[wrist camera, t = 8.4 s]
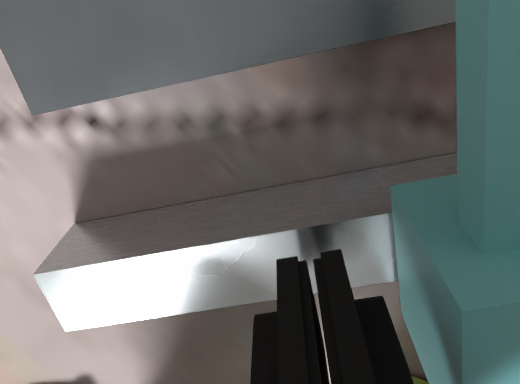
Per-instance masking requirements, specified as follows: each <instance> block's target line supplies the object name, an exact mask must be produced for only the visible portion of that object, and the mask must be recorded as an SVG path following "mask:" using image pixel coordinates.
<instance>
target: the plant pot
mask: <svg viewBox="0 0 520 384" xmlns="http://www.w3.org/2000/svg"><path fill="white" fill-rule="evenodd" d="M411 377H412V380H413V382H414V384H429V383H428V382H426V381H424V380H422V379H419V378H417V377H413V376H411Z"/></svg>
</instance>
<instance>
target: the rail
mask: <svg viewBox="0 0 520 384" xmlns="http://www.w3.org/2000/svg"><path fill="white" fill-rule="evenodd" d="M454 174H457V153H453V154H448V155H442V156H437V157H432V158H426V159H421V160H415V161H410V162H405V163H399V164H394V165H389V166H383V167H378V168H372V169H367V170H362V171H356V172H351V173H345V174H340V175H335V176H329V177H324V178H319V179H313V180H308V181H302V182H297V183H292V184H286V185H281V186H276V187H270V188H265V189H259V190H254V191H249V192H243V193H238V194H232V195H227V196H222V197H216V198H211V199H206V200H200V201H195V202H189V203H184V204H179V205H173V206H168V207H162V208H157V209H152V210H146V211H141V212H136V213H130V214H125V215H119V216H114V217H109V218H103V219H98V220H92V221H87V222H82V223H76V224H73V226H72V227H71V228H70V229H69V231H68V232H67V233H66V234H65V236H64V237H63V238H62V239H61V240H60V242H59V243H58V244H57V245H56V247H55V248H54V249H53V250H52V252H51V253H50V254H49V255H48V257H47V258H46V259H45V260H44V261H43V263H42V264H41V265H40V266H39V268H38V269H37V270H36V271H35V273H34V274H33V276H34V278H35V280H36V281H37V283H38V285H39V287H40V288H41V290H42V292H43V294H44V295H45V297H46V299H47V301H48V302H49V304H50V306H51V308H52V309H53V311H54V313H55V315H56V316H57V318H58V320H59V321H60V323H61V325H62V327H63V328H64V330H65V332H67V331H74V330H80V329H87V328H93V327H100V326H106V325H113V324H119V323H126V322H132V321H139V320H146V319H152V318H159V317H165V316H172V315H178V314H185V313H191V312H198V311H204V310H211V309H217V308H224V307H230V306H237V305H243V304H250V303H257V302H263V301H270V300H276V299H277V270H276V260H277V259H282V258H288V257H294V256H297V257H298V261H304V260H306V261H307V265H308V270H309V275H310V280H311V285H312V290H313V294H315V293H318V291H317V284H316V277H315V271H314V264H313V259H317V258H321V255H320V252H324V251H330V250H336V249H341V251H342V254H343V258H344V262H345V266H346V270H347V274H348V278H349V281H350V285H351V288H354V287H361V286H368V285H374V284H381V283H387V282H394V281H398V270H397V259H396V248H395V237H394V226H393V215H392V204H391V193H390V186H393V185H398V184H404V183H409V182H415V181H420V180H426V179H431V178H437V177H443V176H448V175H454Z"/></svg>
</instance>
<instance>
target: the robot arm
mask: <svg viewBox="0 0 520 384" xmlns="http://www.w3.org/2000/svg"><path fill="white" fill-rule="evenodd" d="M320 255H321V258H317V259H313V264H314V271H315V277H316V284H317V291H318V298H319V304H320V311H321V318H322V324H323V331H324V338H325V345H326V351H327V358H328V365H329V371H330V378H331V384H414V382H413V380H412V377H411V374H410V371H409V368H408V365H407V363H406V360H405V357H404V354H403V351H402V348H401V346H400V343H399V340H398V337H397V334H396V331H395V329H394V326H393V323H392V320H391V317H390V314H389V312H388V309H387V306H386V303H385V301H384V298H383V297H382V296H377V297H371V298H364V299H357V300H354V297H353V293H352V289H351V285H350V281H349V278H348V274H347V270H346V266H345V262H344V258H343V254H342V251H341V249H336V250H330V251H324V252H320ZM276 270H277V312H271V313H264V314H257V315H255V317H254V325H253V344H252V363H251V383H250V384H329V378H328V371H327V364H326V357H325V350H324V344H323V338H322V333H321V328H320V323H319V318H318V314H317V309H316V304H315V299H314V294H313V290H312V285H311V280H310V275H309V270H308V265H307V261H306V260H304V261H298V257H297V256H294V257H288V258H282V259H277V260H276Z"/></svg>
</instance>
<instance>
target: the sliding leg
mask: <svg viewBox="0 0 520 384" xmlns="http://www.w3.org/2000/svg"><path fill="white" fill-rule="evenodd" d="M455 3H456V97H457V174H454V175H448V176H443V177H437V178H431V179H426V180H420V181H415V182H409V183H404V184H398V185H393V186H390V193H391V204H392V215H393V226H394V237H395V248H396V259H397V270H398V281H399V292H400V303H401V313H402V316H403V318H404V321H405V324H406V326H407V329H408V331H409V334H410V336H411V339H412V342H413V344H414V347H415V349H416V352H417V354H418V357H419V359H420V362H421V365H422V367H423V370H424V372H425V375H426V377H427V380H428V383H429V384H520V0H455Z"/></svg>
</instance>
